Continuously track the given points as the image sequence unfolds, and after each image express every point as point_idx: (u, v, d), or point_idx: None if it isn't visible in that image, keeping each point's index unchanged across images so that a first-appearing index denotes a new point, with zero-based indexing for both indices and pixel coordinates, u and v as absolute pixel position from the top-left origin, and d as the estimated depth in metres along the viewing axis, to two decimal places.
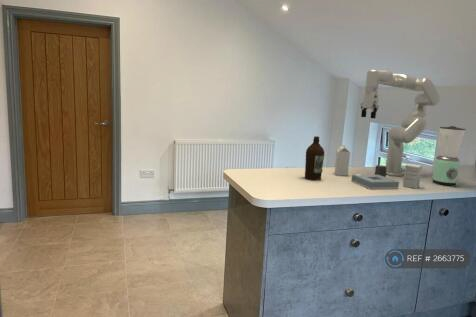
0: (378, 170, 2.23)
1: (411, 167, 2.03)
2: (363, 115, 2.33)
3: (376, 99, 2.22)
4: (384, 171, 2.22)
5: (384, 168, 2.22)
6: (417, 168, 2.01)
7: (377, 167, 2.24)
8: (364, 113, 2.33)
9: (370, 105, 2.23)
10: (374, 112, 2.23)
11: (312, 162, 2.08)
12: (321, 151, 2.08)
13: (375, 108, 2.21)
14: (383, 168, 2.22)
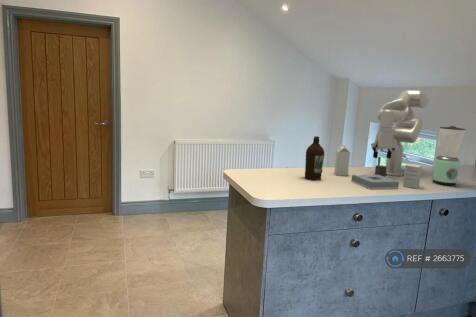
0: (378, 170, 2.23)
1: (411, 167, 2.03)
2: None
3: None
4: (384, 171, 2.22)
5: (384, 168, 2.22)
6: (417, 168, 2.01)
7: (377, 167, 2.24)
8: None
9: (391, 146, 2.20)
10: None
11: (312, 162, 2.08)
12: (321, 151, 2.08)
13: (394, 148, 2.23)
14: (383, 168, 2.22)
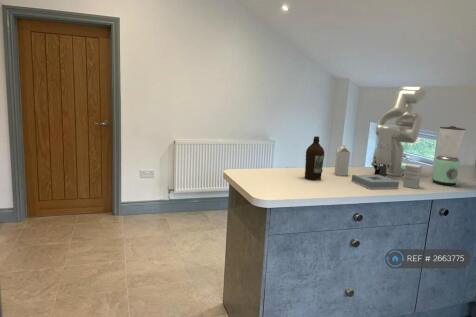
0: None
1: (411, 167, 2.03)
2: None
3: None
4: (384, 171, 2.22)
5: (384, 168, 2.22)
6: (417, 168, 2.01)
7: None
8: None
9: (389, 162, 2.22)
10: None
11: (312, 162, 2.08)
12: (321, 151, 2.08)
13: (389, 166, 2.24)
14: (383, 168, 2.22)
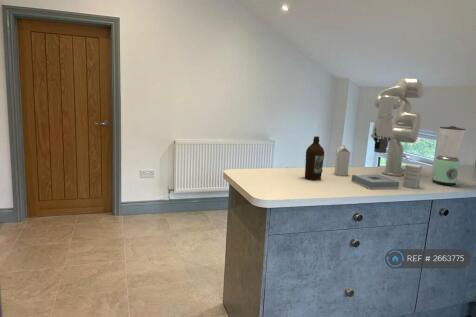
0: None
1: (411, 167, 2.03)
2: None
3: None
4: (385, 144, 2.08)
5: (385, 140, 2.08)
6: (417, 168, 2.01)
7: None
8: None
9: (390, 134, 2.08)
10: None
11: (312, 162, 2.08)
12: (321, 151, 2.08)
13: (390, 139, 2.10)
14: (384, 140, 2.08)
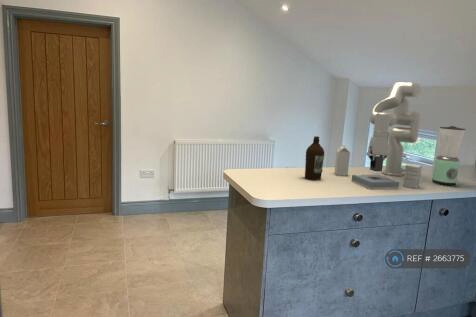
0: None
1: (411, 167, 2.03)
2: None
3: None
4: (381, 162, 2.02)
5: (381, 159, 2.02)
6: (417, 168, 2.01)
7: None
8: None
9: (386, 152, 2.02)
10: None
11: (312, 162, 2.08)
12: (321, 151, 2.08)
13: (386, 156, 2.04)
14: (379, 159, 2.02)
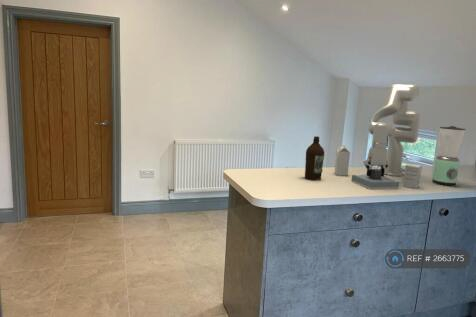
0: (372, 174, 2.04)
1: (411, 167, 2.03)
2: None
3: None
4: (379, 175, 2.04)
5: (379, 172, 2.04)
6: (417, 168, 2.01)
7: None
8: None
9: (385, 162, 2.04)
10: None
11: (312, 162, 2.08)
12: (321, 151, 2.08)
13: (387, 165, 2.06)
14: (378, 172, 2.03)
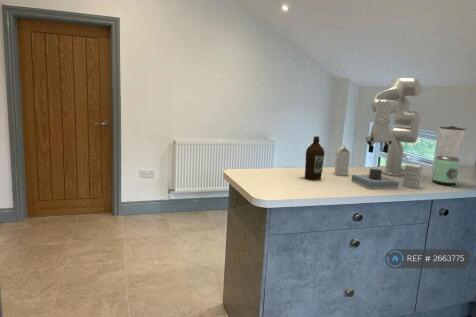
0: (372, 174, 2.04)
1: (411, 167, 2.03)
2: None
3: None
4: (379, 175, 2.04)
5: (379, 172, 2.04)
6: (417, 168, 2.01)
7: (371, 171, 2.05)
8: None
9: (387, 139, 2.03)
10: None
11: (312, 162, 2.08)
12: (321, 151, 2.08)
13: (391, 142, 2.05)
14: (378, 172, 2.03)
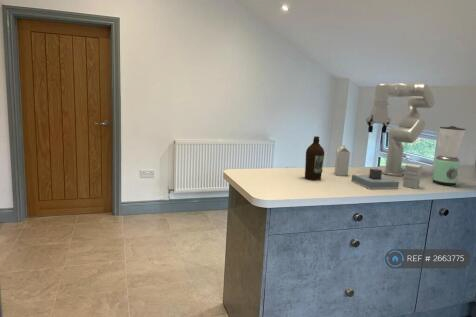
0: (372, 174, 2.04)
1: (411, 167, 2.03)
2: None
3: None
4: (379, 175, 2.04)
5: (379, 172, 2.04)
6: (417, 168, 2.01)
7: (371, 171, 2.05)
8: None
9: (386, 120, 2.21)
10: None
11: (312, 162, 2.08)
12: (321, 151, 2.08)
13: (389, 123, 2.23)
14: (378, 172, 2.03)
